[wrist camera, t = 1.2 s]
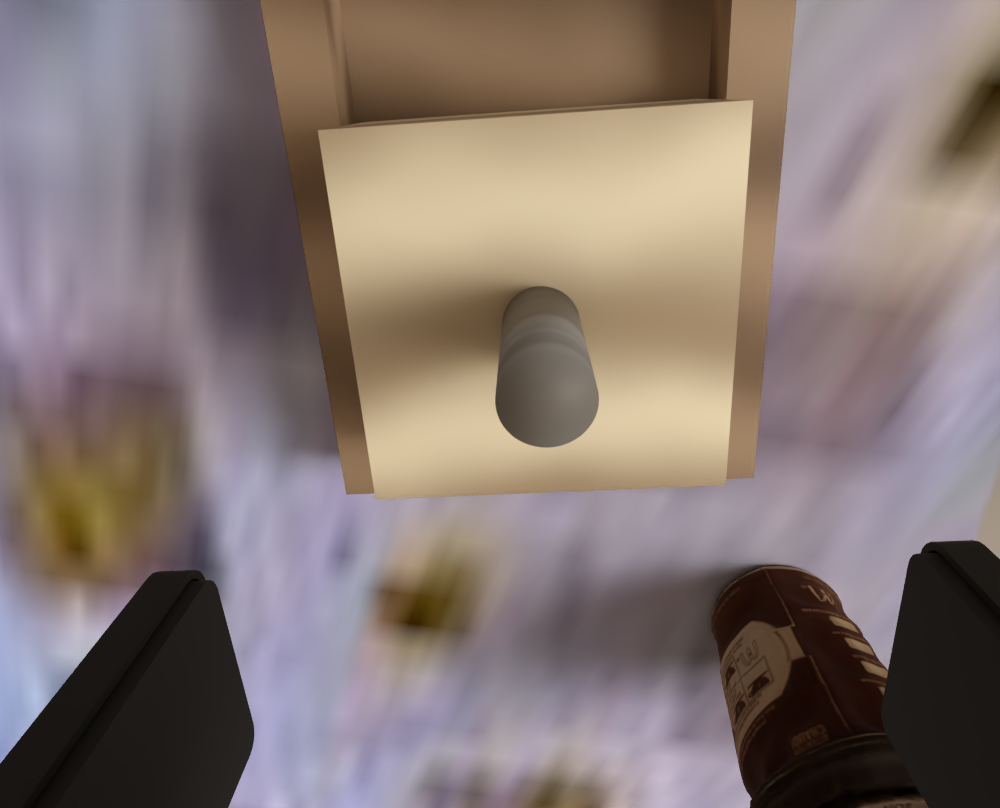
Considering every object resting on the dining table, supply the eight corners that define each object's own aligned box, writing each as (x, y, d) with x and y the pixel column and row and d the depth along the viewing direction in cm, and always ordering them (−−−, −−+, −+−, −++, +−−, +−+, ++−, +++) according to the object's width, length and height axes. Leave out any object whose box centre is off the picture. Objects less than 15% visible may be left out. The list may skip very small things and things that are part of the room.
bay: (247, -260, 23) (205, -314, 20) (787, -314, 22) (830, -379, 19) (362, 457, 33) (346, 494, 30) (731, 441, 32) (753, 477, 29)
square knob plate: (368, 121, 26) (238, 143, 14) (695, 98, 26) (845, 101, 14) (406, 415, 31) (332, 615, 19) (682, 402, 30) (786, 601, 18)
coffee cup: (681, 680, 38) (753, 949, 26) (683, 551, 35) (767, 791, 23) (847, 673, 37) (999, 944, 25) (866, 541, 34) (1051, 782, 22)
